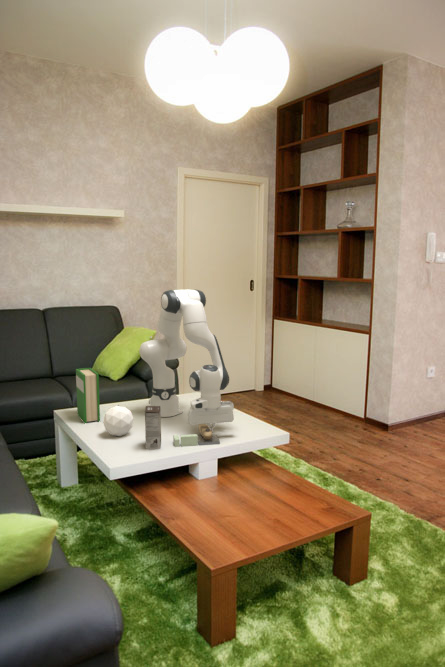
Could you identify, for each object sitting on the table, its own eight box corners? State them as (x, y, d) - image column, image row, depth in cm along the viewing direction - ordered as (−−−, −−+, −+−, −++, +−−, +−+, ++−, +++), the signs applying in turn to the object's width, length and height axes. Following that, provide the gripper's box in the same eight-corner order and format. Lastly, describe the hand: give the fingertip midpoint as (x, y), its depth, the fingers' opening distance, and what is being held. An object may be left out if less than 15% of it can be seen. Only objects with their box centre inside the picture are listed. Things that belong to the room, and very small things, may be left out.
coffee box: (146, 442, 228) (145, 405, 226) (161, 441, 229) (160, 405, 227) (145, 449, 219) (144, 411, 217) (160, 448, 220) (160, 411, 218)
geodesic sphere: (99, 418, 245) (101, 399, 236) (128, 414, 250) (132, 396, 241) (104, 443, 236) (106, 424, 227) (134, 439, 241) (138, 421, 232)
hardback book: (100, 421, 259) (98, 373, 256) (84, 423, 256) (83, 375, 253) (91, 413, 275) (90, 367, 272) (77, 414, 272) (75, 368, 269)
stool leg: (212, 439, 228) (212, 430, 227) (204, 439, 227) (204, 430, 226) (206, 429, 241) (206, 421, 241) (198, 430, 240) (198, 422, 240)
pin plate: (196, 438, 233) (196, 436, 233) (216, 437, 234) (216, 435, 234) (199, 445, 224) (198, 442, 224) (219, 443, 226) (219, 441, 226)
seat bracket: (173, 441, 228) (173, 432, 228) (195, 440, 230) (195, 431, 230) (174, 446, 222) (174, 437, 222) (197, 445, 224) (197, 436, 224)
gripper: (232, 399, 238) (232, 428, 239) (187, 401, 233) (187, 432, 235) (235, 402, 232) (235, 433, 233) (189, 405, 227) (189, 436, 229)
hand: (211, 432), depth 234 cm, fingers closed
